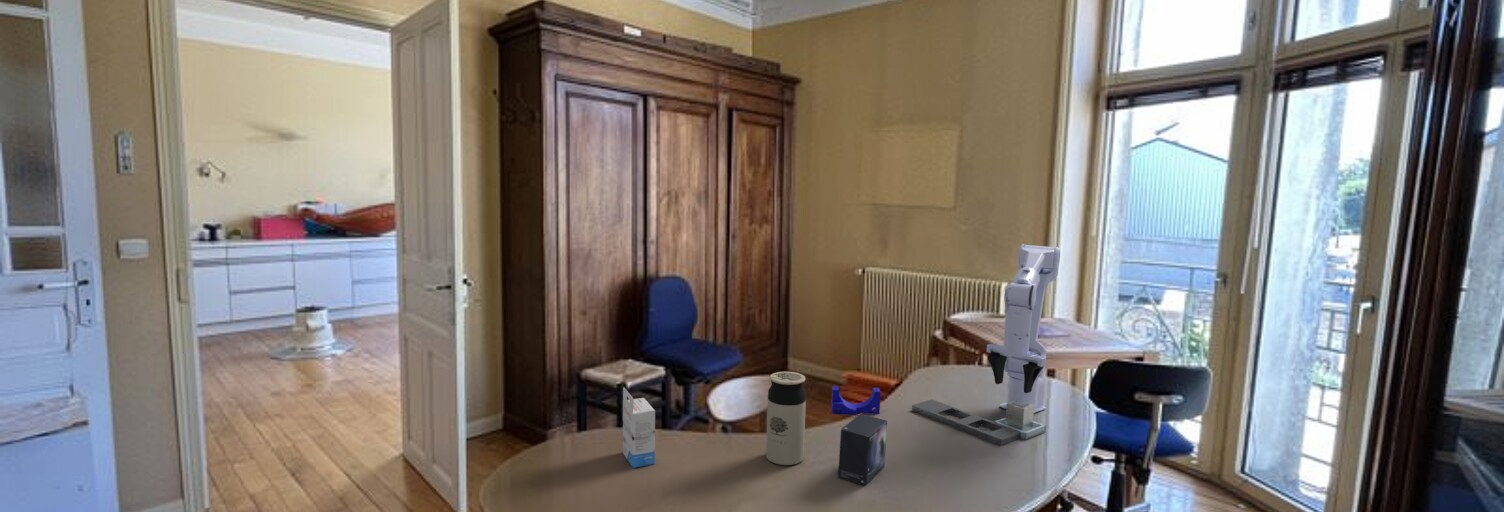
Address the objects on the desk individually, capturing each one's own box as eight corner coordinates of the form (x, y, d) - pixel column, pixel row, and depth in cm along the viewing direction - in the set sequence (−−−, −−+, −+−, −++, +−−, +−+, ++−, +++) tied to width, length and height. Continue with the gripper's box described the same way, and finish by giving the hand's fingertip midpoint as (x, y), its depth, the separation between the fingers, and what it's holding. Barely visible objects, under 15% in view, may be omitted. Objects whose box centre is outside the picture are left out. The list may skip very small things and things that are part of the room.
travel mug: (783, 447, 147) (786, 368, 145) (811, 458, 142) (814, 377, 139) (758, 457, 142) (760, 376, 139) (786, 470, 136) (788, 385, 134)
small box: (867, 487, 130) (869, 436, 128) (836, 478, 133) (838, 428, 132) (886, 467, 139) (889, 419, 137) (857, 459, 142) (859, 412, 141)
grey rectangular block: (1015, 423, 163) (1017, 398, 162) (1032, 429, 160) (1034, 404, 159) (1004, 427, 161) (1006, 402, 160) (1022, 433, 157) (1024, 408, 156)
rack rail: (931, 404, 176) (932, 399, 176) (1021, 437, 156) (1021, 432, 155) (911, 410, 172) (912, 405, 172) (1001, 445, 151) (1001, 439, 151)
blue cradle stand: (832, 414, 168) (833, 391, 167) (831, 408, 172) (832, 386, 172) (880, 416, 167) (881, 393, 167) (877, 410, 172) (878, 387, 171)
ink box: (656, 464, 137) (656, 396, 135) (632, 468, 135) (632, 399, 133) (644, 448, 145) (644, 383, 143) (621, 452, 143) (621, 386, 141)
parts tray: (1013, 420, 166) (1013, 414, 166) (1045, 431, 160) (1045, 425, 159) (993, 427, 161) (993, 421, 161) (1025, 439, 155) (1026, 433, 154)
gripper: (980, 328, 163) (977, 382, 164) (1036, 342, 151) (1031, 399, 153) (997, 325, 167) (993, 377, 169) (1052, 337, 155) (1048, 393, 157)
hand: (1012, 387), depth 161 cm, fingers open, 7 cm apart
